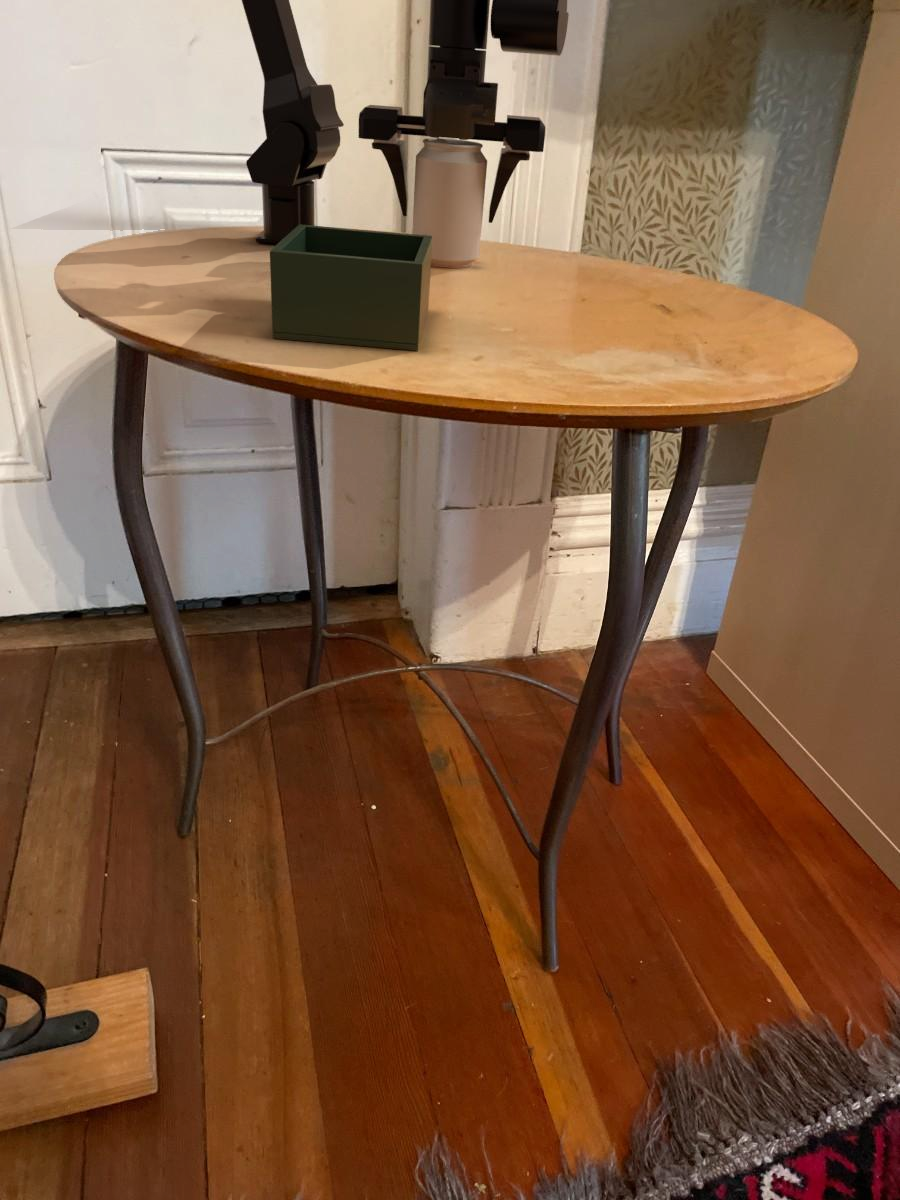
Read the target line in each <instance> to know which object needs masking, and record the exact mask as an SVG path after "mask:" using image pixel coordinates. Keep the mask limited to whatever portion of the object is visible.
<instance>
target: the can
mask: <svg viewBox="0 0 900 1200" xmlns="http://www.w3.org/2000/svg"><path fill="white" fill-rule="evenodd" d="M422 143H423V147H422V148H421V149H420V150H419V151H418V153H416V155H415V167H414V169H415V170H414V187H413V188H414V189H413V206H412V207H413V210H412V230H411V234H416V235H428V236H433V237H432V254H431V267H437V268H447V269H462V268H467V267H470V266H471V265H472V264H473V263H474V262H475V261H477V260H478V259H479V258H480V249H481V237H482V228H483V216H484V204H485V193H486V182H487V171H488V170H487V169H488V159H487V158H486V157H485V154H484V153H483V151H482V148H483V147H484V145H483V143H480V142H478V141H472V140H460V139H458V138H444V137H439V138H433V137H429V138H428V137H427V138H424V139H423V140H422Z"/></svg>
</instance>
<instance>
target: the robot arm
mask: <svg viewBox="0 0 900 1200" xmlns="http://www.w3.org/2000/svg"><path fill="white" fill-rule="evenodd" d="M490 2H491V0H430V1H429V25H428V26H429V27H428V46H427V71H426V84H425V87H424V89H423V90H424V91H423V102H422V103H423V104H422V115H411V114H403V107H402V106H394V105H393V106H391V105H379V104H369V105H366V106H364V107H363V108H362V110H360V112H359V114H358V139H363V140H373V141H372V142H371V149H373V150H379V151H381V153H382V154H383V156H384V157H383V158H384V159H385V160H386V163H387V166H388V168H389V170H390V173H391V176H392V179H393V183H394V187H395V191H396V194H397V198H398V202H399V206H400V209H401V213H402V217H408V213H409V212H408V211H409V185H408V171H407V170H408V169H407V167H408V166H407V153H406V152H407V151H406V140H404V139H401V138H402V137H403V135H404V136H405V135H407V136H418V137H419V136H420V137H429V138H444V139H457V140H466V141H472V140H474V141H486V142H499V143H502V146H503V147H501V149H500V154H499V159H498V163H497V169H496V173H495V178H494V184H493V189H492V193H491V199H490V203H489V211H488V212H489V213H488V223H489V224H492V223H494V222H493V221H494V219H495V216H496V214H497V212H498V211H497V210H498V208H499V206H500V203H501V200H502V197H503V195H504V192H505V189H506V187H507V184H508V182H509V181H510V179H511V177H512V175H513V173H514V171H515V169H516V168H517V166H518V164H519V163H520V162H521V161H527V162H528V161H530V158H531V153H530V152H533V153H544V149H545V140H546V139H545V138H546V128H547V127H546V125H545V123H544V122H543V120H542V119H541V118H540V117H538V116H524V115H513V114H512V115H511V114H506V122H505V121H496V114H497V103H498V102H497V101H498V89H499V83H498V82H487V81H485V76H486V74H485V73H486V61H487V60H486V59H487V48H488V46H487V45H488V33H489V20H490V34H491V35H490V36H491V37H492V39H495V40H499V46H500V49H501V51H502V52H504V53H505V52H506V53H518V54H519V53H520V54H521V53H522V54H532V55H545V56H557V57H560V56H561V55H562V54H563V50H564V47H565V43H566V37H567V31H568V24H569V15H570V14H569V12H568V0H492V2H491V3H490ZM241 4H242V7H243V10H244V14H245V17H246V21H247V24H248V27H249V31H250V34H251V37H252V38H251V39H252V41H253V44H254V48H255V52H256V55H257V59H258V61H259V65H260V69H261V72H262V75H263V76H262V77H263V82H264V83H263V99H262V118H263V124H264V130H265V140H263V142H262V143H261V144H260V145H259V146H258V147H257V149H256V150H255V151H254V152H253V153H252V154H251V155H250V156H249V158H248V159H247V160H246V162H245V165H246V168H247V170H248V174H249V177H250V180H251V182H252V183H253V184H260V185H261V190H262V191H261V192H262V193H261V195H262V221H263V222H262V223H263V230H262V231H261V232H260V233H259V234H257V235H256V236H255V237H254V241H255V243H265V244H276V245H277V244H278V243H279V242H280V241H281V240H283V239H284V238H285V237H286V236H287V235H288V234H289V233H290V232H291V231H293V230H294V229H295V228H296V227H297V226H298V225H299V224H300V225H312V226H316V221H315V219H316V218H315V216H316V215H315V212H316V211H315V207H316V206H315V180H322V179H323V177H324V173H325V170H326V167H327V165H328V163H330V162H331V161H332V160H333V159H334V157H335V156H336V155H337V152H338V150H339V148H340V145H341V132H340V131H341V130H340V129H339V128H342V127H344V125H345V124H344V122H343V121H342V119H341V118H340V116H339V113H338V111H337V105H336V99H335V91H334V88H333V85H332V84H330V83H328V84H326V83H325V84H318V82H317V81H316V80H315V78H314V77H313V75H312V74H311V72H310V70H309V68H308V65H307V62H306V59H305V58H306V57H305V55H304V51H303V47H302V43H301V40H300V36H299V32H298V28H297V25H296V24H297V23H296V22H295V21H296V20H295V17H294V14H293V9H292V7H291V2H290V0H241ZM490 5H491V9H490ZM489 17H490V19H489Z"/></svg>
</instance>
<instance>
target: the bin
mask: <svg viewBox="0 0 900 1200" xmlns="http://www.w3.org/2000/svg"><path fill="white" fill-rule="evenodd" d="M432 237H433V236H428V235H416V234H412V233H404V232H393V231H392V232H391V231H382V230H381V231H380V230H368V229H359V228H358V229H357V228H345V227H333V226H323V225H315V226H312V225H300V224H299V225H298V226H297V227H296V228H295V229H294V230H293V231H291V232H290V233H289V234H288V235H287V236H286V237H285V238H284V239H283V240H281V241H280V242H279V243H278V244H276V245H275V246H274V247H272V248H271V250H269V267H270V268H269V269H270V270H269V271H270V273H269V274H270V275H269V276H270V300H271V301H270V302H271V304H270V305H271V327H272V328H271V329H272V332H271V333H272V339H274V340H275V339H276V340H289V341H299V342H309V343H311V342H313V343H321V344H333V345H347V346H356V347H369V348H379V349H380V348H381V349H391V350H393V349H394V350H404V351H412V352H413V351H415V352H418V351H419V347H420V344H421V341H422V337H423V334H424V329H425V326H426V322H427V318H428V315H429V306H430V305H429V304H430V303H429V302H430V289H431V288H430V287H431V286H430V285H431V272H432V271H431V269H432V266H431V254H432Z"/></svg>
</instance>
